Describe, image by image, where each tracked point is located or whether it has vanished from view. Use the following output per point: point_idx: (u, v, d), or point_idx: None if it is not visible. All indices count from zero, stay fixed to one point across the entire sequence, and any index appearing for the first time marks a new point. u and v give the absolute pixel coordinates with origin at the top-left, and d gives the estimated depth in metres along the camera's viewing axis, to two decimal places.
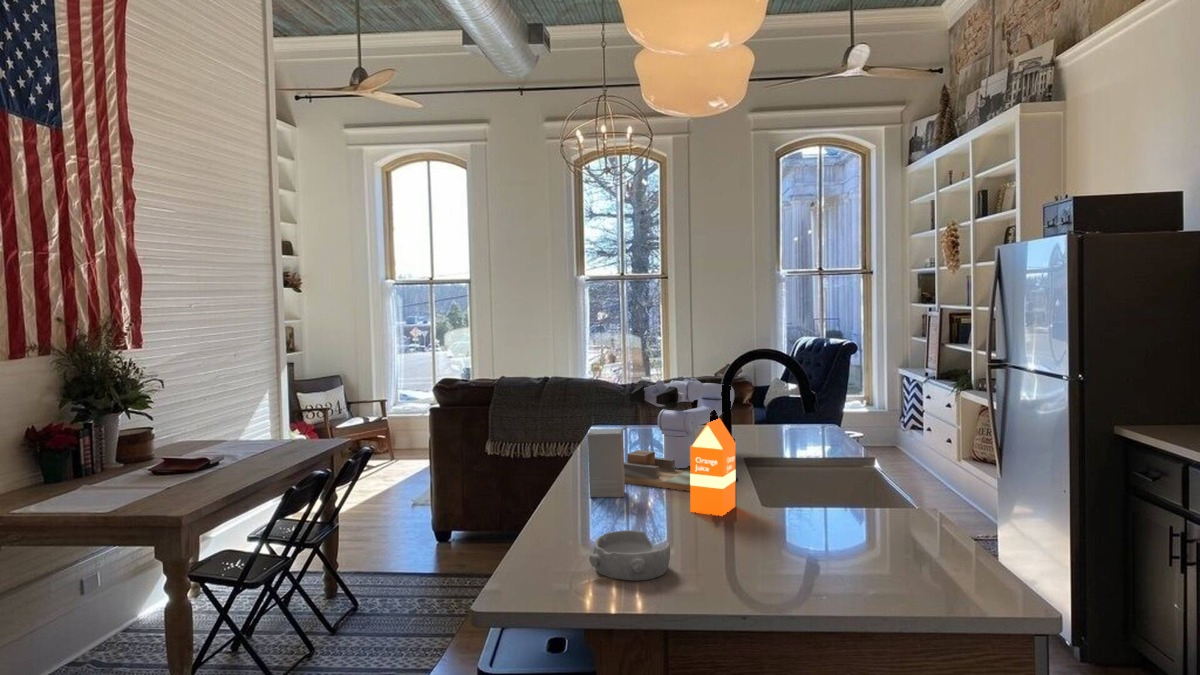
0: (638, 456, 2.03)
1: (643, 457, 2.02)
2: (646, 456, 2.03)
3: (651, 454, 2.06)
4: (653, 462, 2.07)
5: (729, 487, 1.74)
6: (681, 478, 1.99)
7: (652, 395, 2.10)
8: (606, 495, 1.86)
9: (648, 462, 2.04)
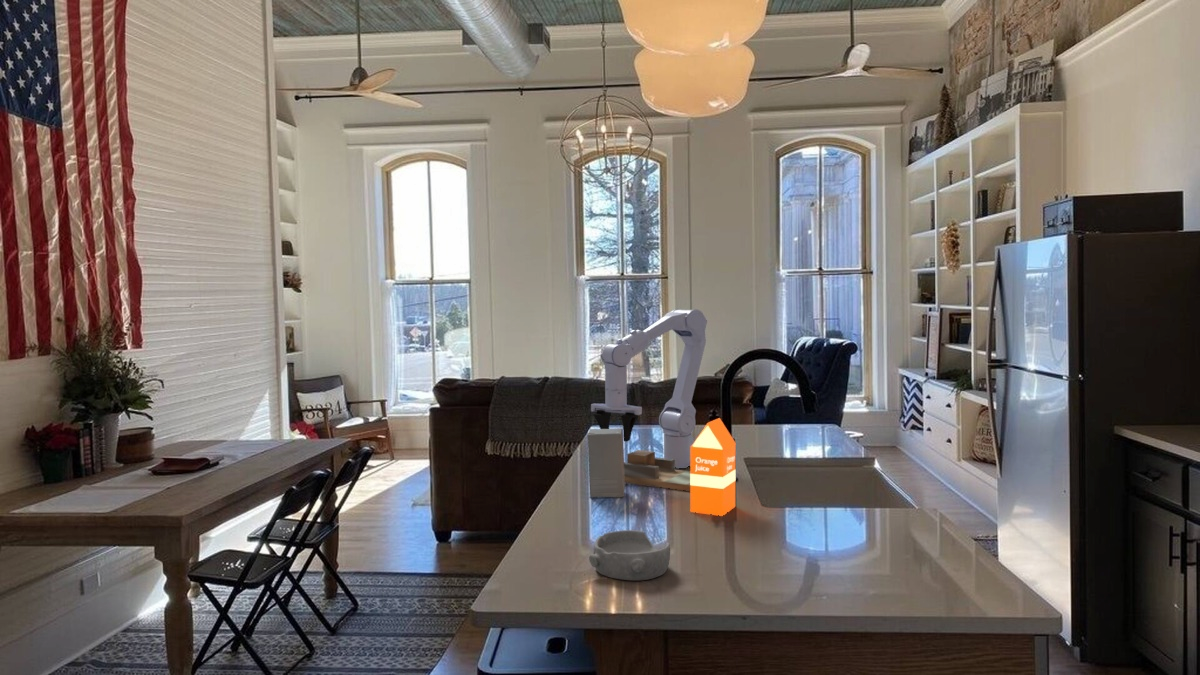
0: (638, 456, 2.03)
1: (643, 457, 2.02)
2: (646, 456, 2.03)
3: (651, 454, 2.06)
4: (653, 462, 2.07)
5: (729, 487, 1.74)
6: (681, 478, 1.99)
7: None
8: (606, 495, 1.86)
9: (648, 462, 2.04)
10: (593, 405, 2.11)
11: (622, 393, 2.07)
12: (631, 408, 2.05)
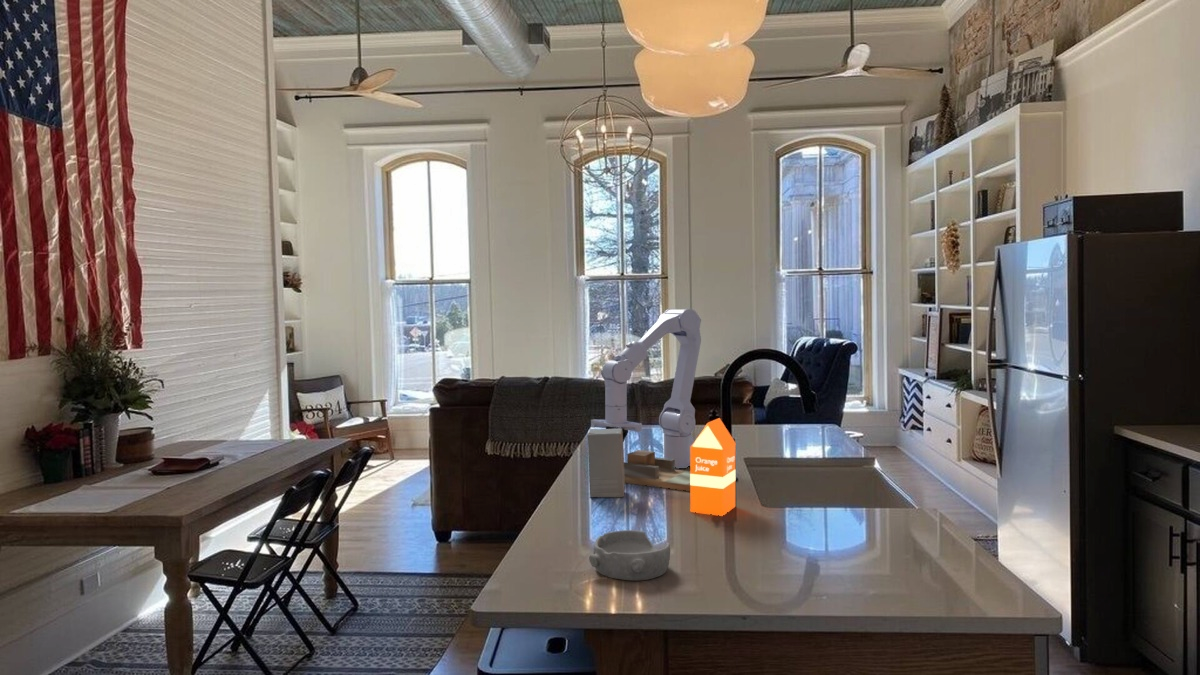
0: (638, 456, 2.03)
1: (643, 457, 2.02)
2: (646, 456, 2.03)
3: (651, 454, 2.06)
4: (653, 462, 2.07)
5: (729, 487, 1.74)
6: (681, 478, 1.99)
7: None
8: (606, 495, 1.86)
9: (648, 462, 2.04)
10: (593, 421, 2.12)
11: (622, 409, 2.07)
12: (631, 425, 2.05)
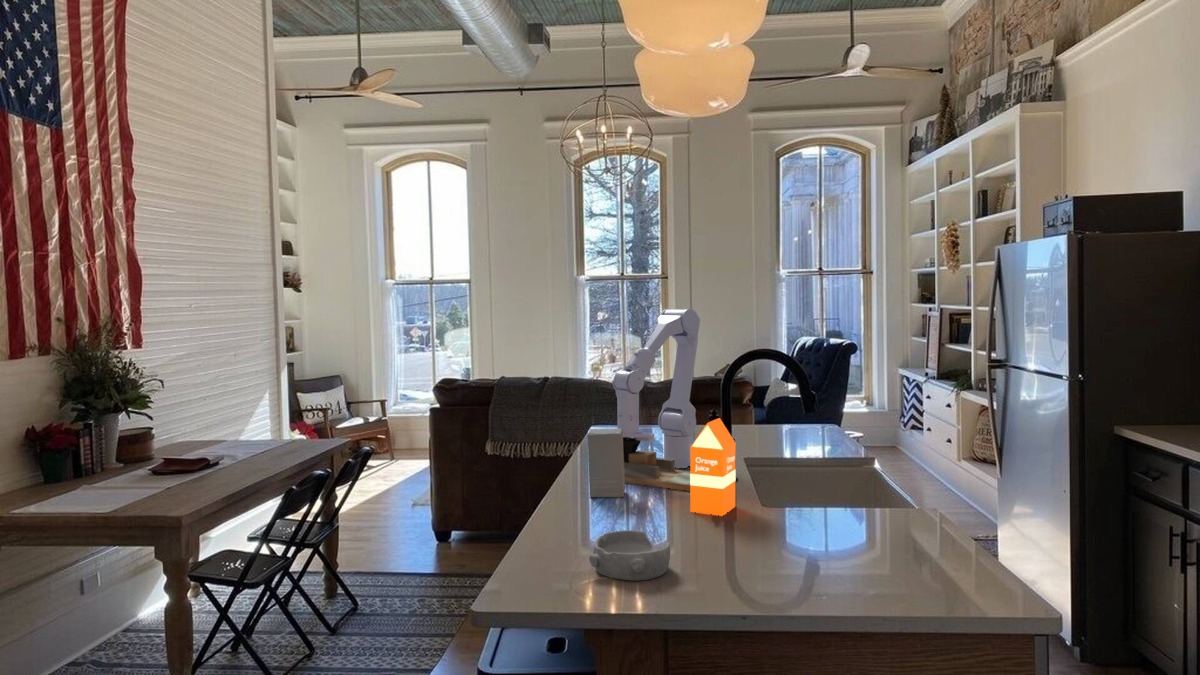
0: (639, 457, 2.03)
1: (644, 457, 2.02)
2: (647, 456, 2.03)
3: (652, 454, 2.05)
4: (654, 462, 2.06)
5: (729, 487, 1.74)
6: (681, 478, 1.99)
7: None
8: (606, 495, 1.86)
9: (650, 462, 2.04)
10: None
11: (634, 420, 2.05)
12: (643, 435, 2.04)
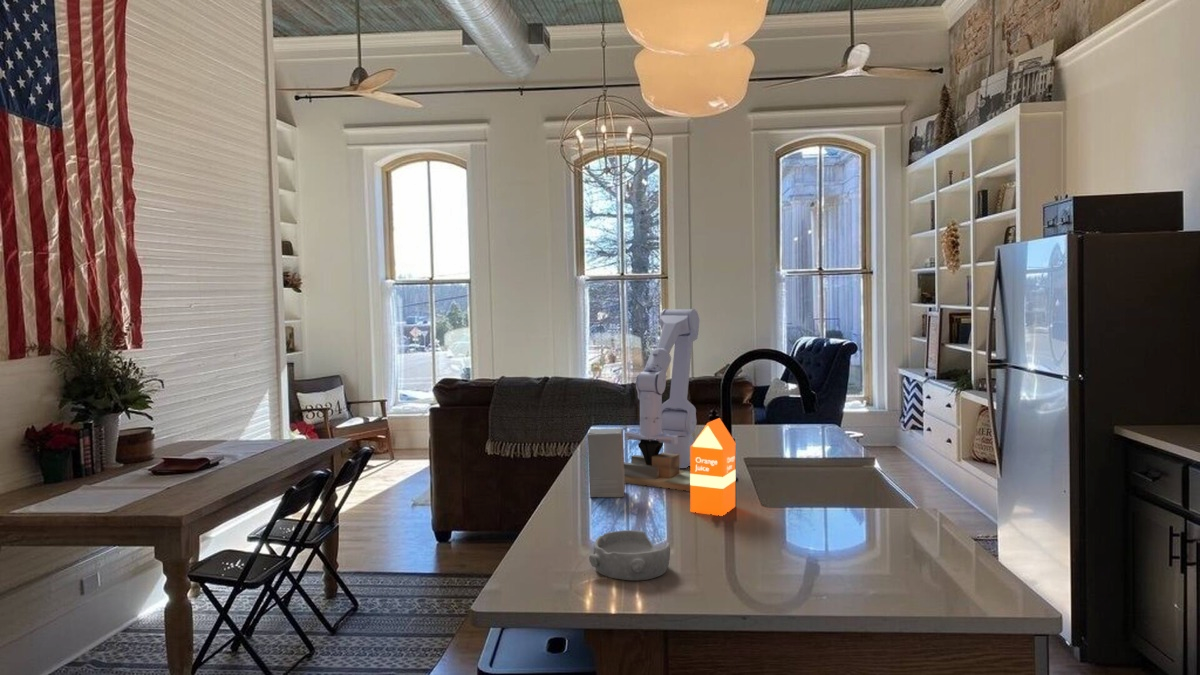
0: (663, 459, 1.99)
1: (668, 460, 1.99)
2: (671, 459, 1.99)
3: (676, 457, 2.02)
4: (678, 465, 2.03)
5: (729, 487, 1.74)
6: (681, 478, 1.99)
7: None
8: (606, 495, 1.86)
9: (673, 465, 2.01)
10: (627, 433, 2.07)
11: (657, 422, 2.02)
12: (667, 437, 2.00)
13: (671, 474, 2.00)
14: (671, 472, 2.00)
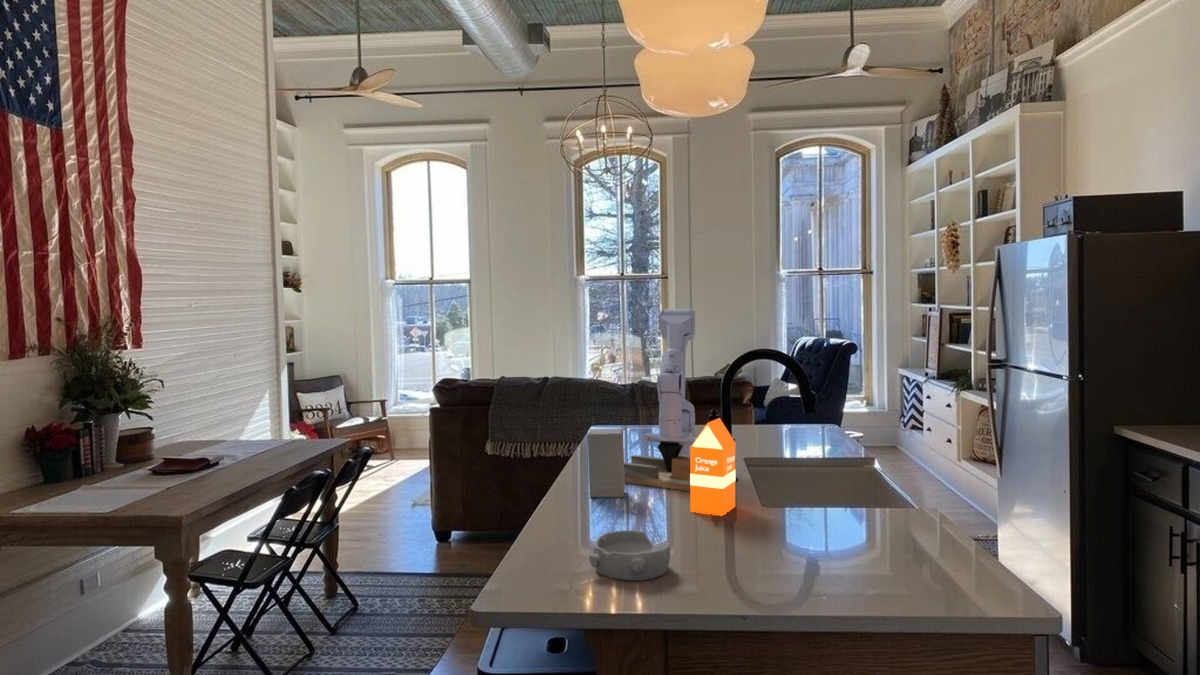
0: (683, 462, 1.97)
1: (689, 462, 1.96)
2: None
3: None
4: None
5: (729, 487, 1.74)
6: None
7: None
8: (606, 495, 1.86)
9: None
10: (646, 435, 2.04)
11: (677, 423, 1.99)
12: (687, 439, 1.98)
13: None
14: None
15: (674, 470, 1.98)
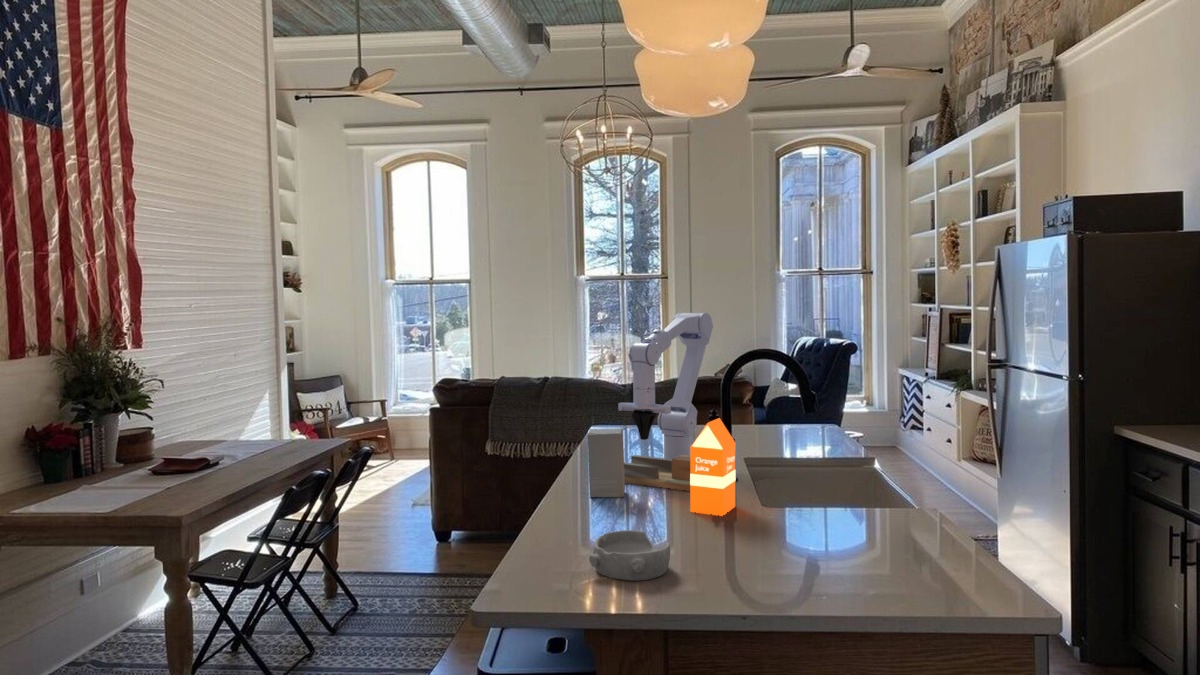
0: (683, 462, 1.97)
1: (689, 462, 1.96)
2: None
3: None
4: None
5: (729, 487, 1.74)
6: None
7: None
8: (606, 495, 1.86)
9: None
10: (621, 404, 2.10)
11: (651, 392, 2.05)
12: (660, 407, 2.04)
13: None
14: None
15: (674, 470, 1.98)
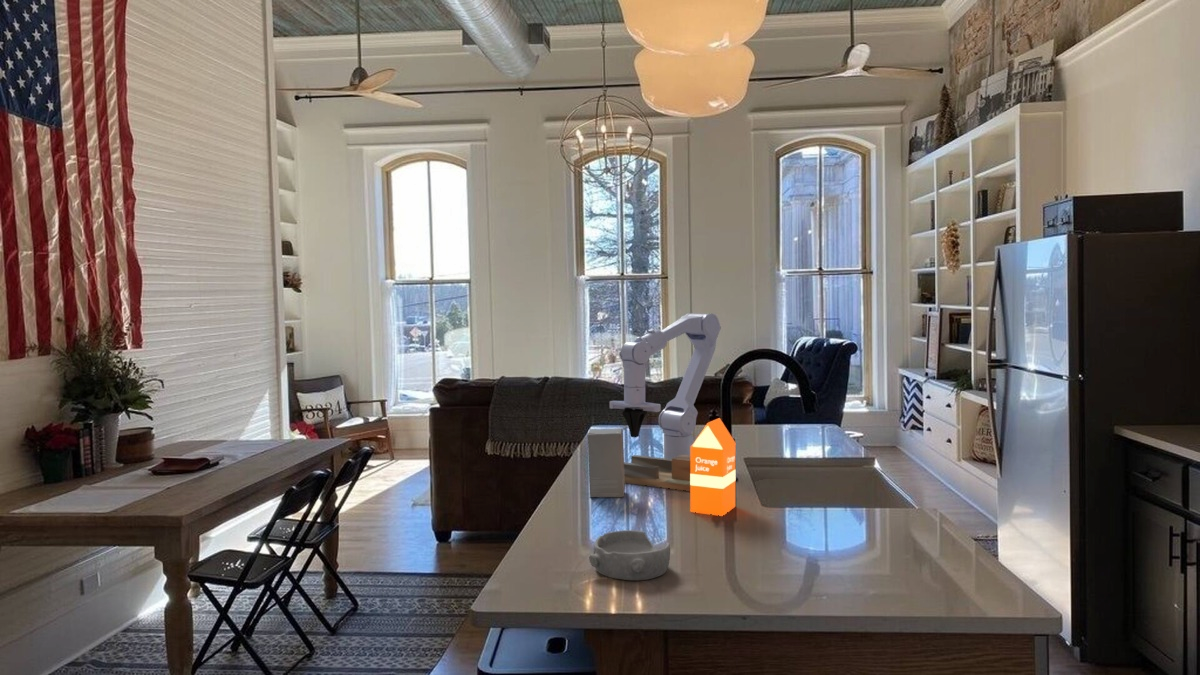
0: (683, 462, 1.97)
1: (689, 462, 1.96)
2: None
3: None
4: None
5: (729, 487, 1.74)
6: None
7: None
8: (606, 495, 1.86)
9: None
10: (612, 402, 2.13)
11: (641, 390, 2.08)
12: (650, 405, 2.07)
13: None
14: None
15: (674, 470, 1.98)
